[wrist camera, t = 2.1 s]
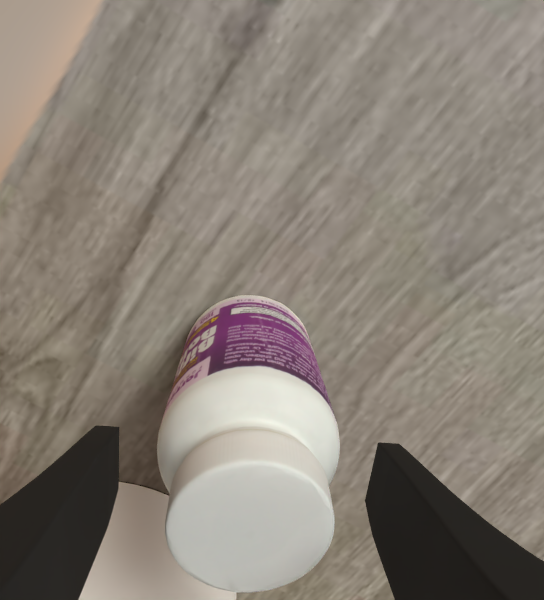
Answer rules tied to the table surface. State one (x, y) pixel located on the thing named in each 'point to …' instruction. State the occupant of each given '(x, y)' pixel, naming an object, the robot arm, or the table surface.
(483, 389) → the table surface
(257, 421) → the pill bottle
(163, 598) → the canister
